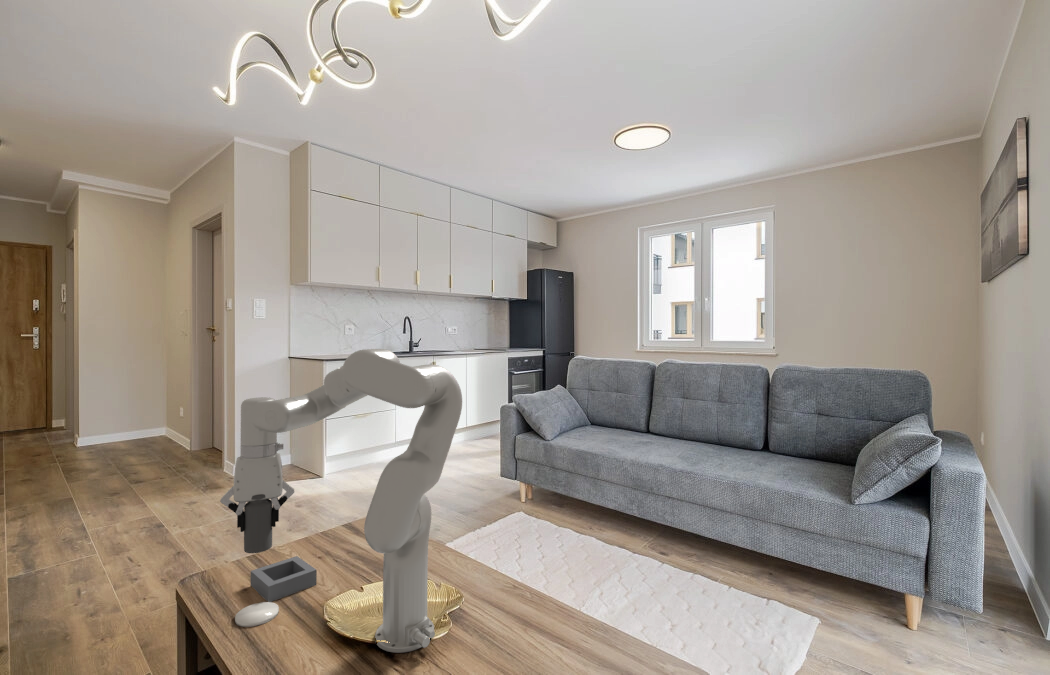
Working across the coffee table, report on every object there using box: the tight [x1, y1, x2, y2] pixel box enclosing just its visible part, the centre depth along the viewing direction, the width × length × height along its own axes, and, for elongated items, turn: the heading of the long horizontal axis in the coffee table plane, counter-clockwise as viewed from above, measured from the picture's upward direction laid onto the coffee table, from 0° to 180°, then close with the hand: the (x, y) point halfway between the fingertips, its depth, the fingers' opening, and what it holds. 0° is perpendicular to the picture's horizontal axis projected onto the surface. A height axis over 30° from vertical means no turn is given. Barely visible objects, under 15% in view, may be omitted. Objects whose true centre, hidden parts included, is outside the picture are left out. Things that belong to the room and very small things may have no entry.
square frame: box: [250, 555, 318, 603], centre depth 130 cm, size 12×12×4 cm
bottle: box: [243, 494, 273, 554], centre depth 115 cm, size 6×6×15 cm
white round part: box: [234, 601, 280, 628], centre depth 115 cm, size 9×9×1 cm
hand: (258, 526), depth 115 cm, fingers closed on bottle, 5 cm apart
